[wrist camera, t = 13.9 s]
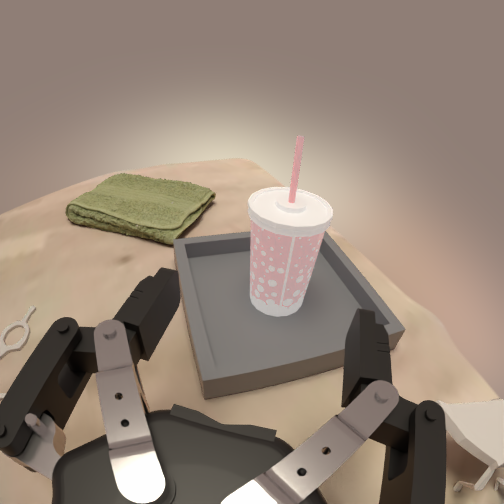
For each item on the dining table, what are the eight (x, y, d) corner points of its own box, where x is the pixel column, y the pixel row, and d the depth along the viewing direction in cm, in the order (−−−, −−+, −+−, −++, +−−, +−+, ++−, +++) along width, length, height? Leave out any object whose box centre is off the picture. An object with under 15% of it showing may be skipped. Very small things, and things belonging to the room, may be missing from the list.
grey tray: (174, 259, 32) (173, 239, 31) (316, 243, 37) (320, 225, 35) (204, 399, 20) (202, 380, 19) (394, 348, 24) (405, 329, 23)
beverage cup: (307, 277, 30) (336, 131, 22) (314, 325, 25) (358, 157, 17) (242, 272, 30) (254, 122, 22) (238, 320, 25) (252, 144, 17)
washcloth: (177, 254, 34) (175, 228, 32) (62, 225, 37) (57, 204, 35) (219, 202, 44) (219, 181, 42) (116, 185, 47) (114, 167, 45)
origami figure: (505, 419, 17) (540, 386, 15) (501, 505, 11) (546, 481, 8) (392, 390, 21) (420, 351, 18) (367, 487, 15) (402, 465, 12)
